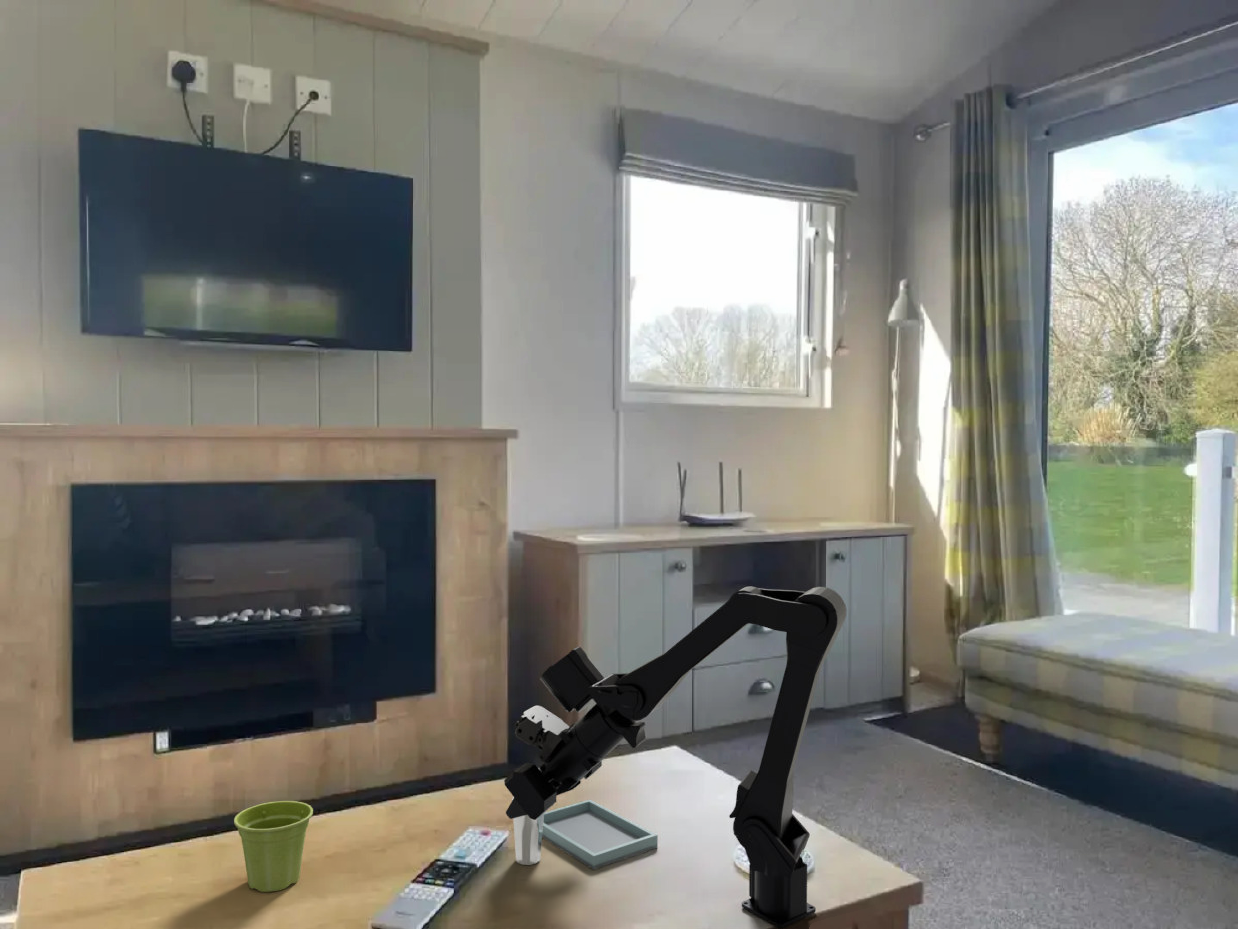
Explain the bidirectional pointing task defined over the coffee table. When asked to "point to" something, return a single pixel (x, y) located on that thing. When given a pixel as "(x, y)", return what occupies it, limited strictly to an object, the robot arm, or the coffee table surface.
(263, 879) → the plant pot
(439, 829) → the coffee table surface
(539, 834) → the milkshake
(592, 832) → the tray
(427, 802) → the coffee table surface
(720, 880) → the coffee table surface
